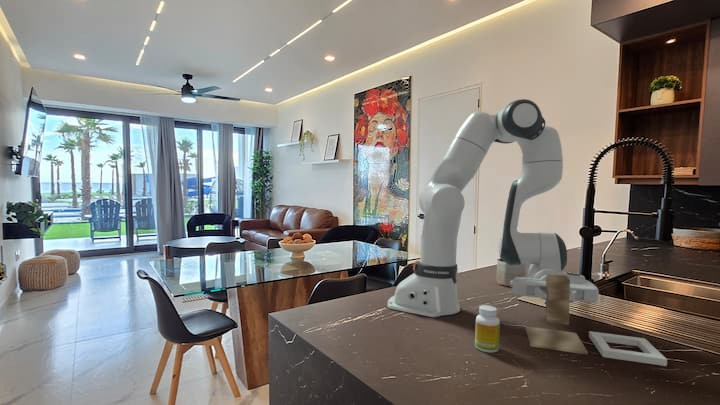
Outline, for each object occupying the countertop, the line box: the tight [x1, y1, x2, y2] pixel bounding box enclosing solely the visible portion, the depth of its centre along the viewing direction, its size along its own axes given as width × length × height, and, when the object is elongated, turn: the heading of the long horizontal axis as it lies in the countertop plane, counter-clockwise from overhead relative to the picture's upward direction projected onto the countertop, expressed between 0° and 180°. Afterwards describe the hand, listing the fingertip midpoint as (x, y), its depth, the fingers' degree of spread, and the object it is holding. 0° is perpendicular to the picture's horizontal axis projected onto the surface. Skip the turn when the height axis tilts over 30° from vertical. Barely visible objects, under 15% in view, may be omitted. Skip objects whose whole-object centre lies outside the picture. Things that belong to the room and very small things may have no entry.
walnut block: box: [545, 274, 570, 326], centre depth 92 cm, size 4×4×11 cm
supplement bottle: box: [474, 304, 501, 354], centre depth 87 cm, size 5×5×10 cm
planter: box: [495, 257, 527, 288], centre depth 146 cm, size 11×11×10 cm
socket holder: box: [588, 330, 668, 367], centre depth 87 cm, size 12×12×2 cm
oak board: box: [525, 326, 589, 355], centre depth 92 cm, size 12×12×1 cm
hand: (558, 297), depth 91 cm, fingers closed on walnut block, 4 cm apart
